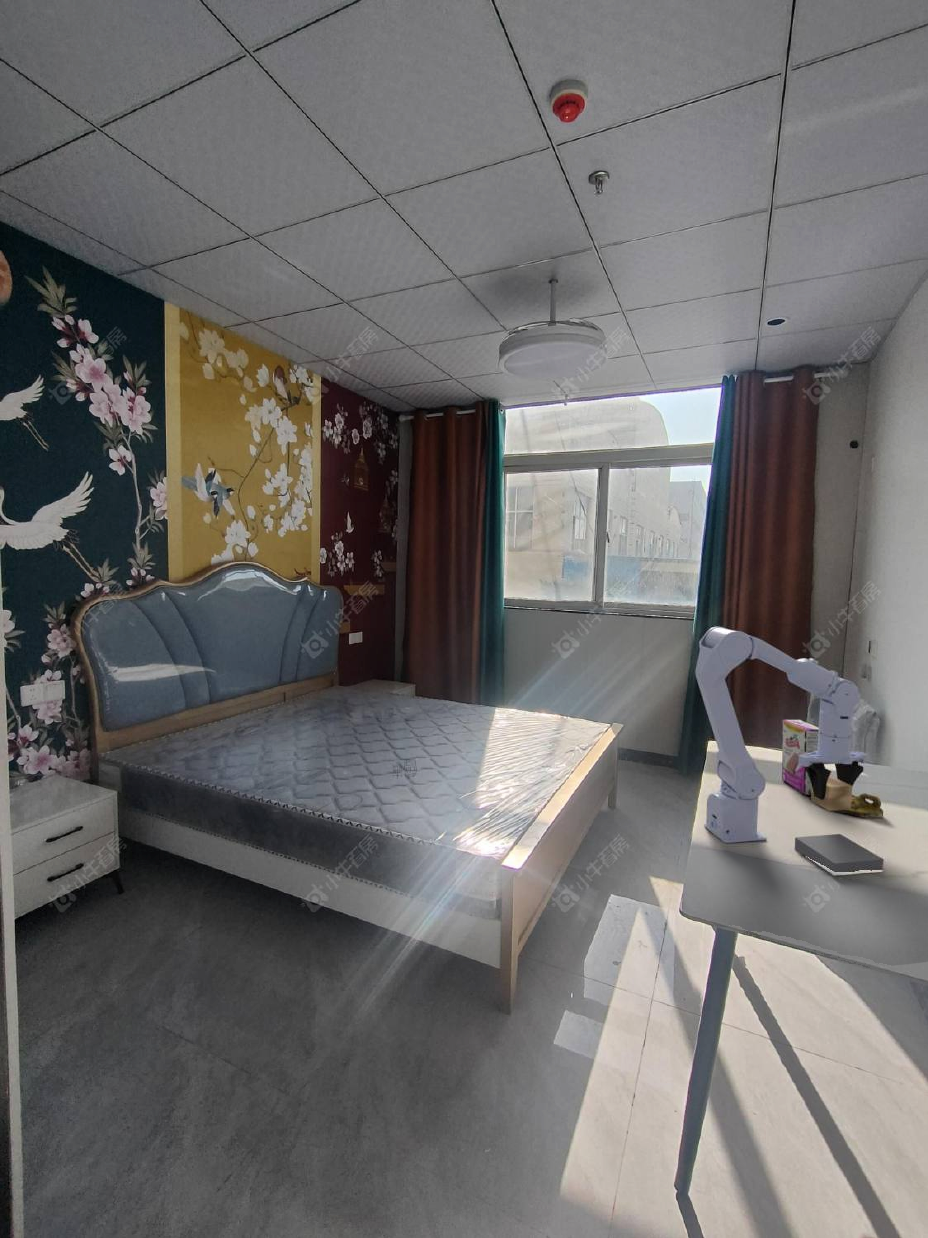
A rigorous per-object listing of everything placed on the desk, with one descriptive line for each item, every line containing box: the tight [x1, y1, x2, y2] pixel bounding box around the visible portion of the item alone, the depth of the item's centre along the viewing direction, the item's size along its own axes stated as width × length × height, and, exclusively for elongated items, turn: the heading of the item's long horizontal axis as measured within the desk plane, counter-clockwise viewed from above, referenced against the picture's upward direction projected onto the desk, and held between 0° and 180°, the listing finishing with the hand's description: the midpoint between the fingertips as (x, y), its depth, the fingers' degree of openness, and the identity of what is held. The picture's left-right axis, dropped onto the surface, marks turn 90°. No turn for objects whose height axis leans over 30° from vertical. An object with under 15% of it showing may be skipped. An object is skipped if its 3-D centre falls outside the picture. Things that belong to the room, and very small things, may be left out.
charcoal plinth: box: [794, 833, 884, 872], centre depth 107 cm, size 10×10×2 cm
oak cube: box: [810, 776, 853, 812], centre depth 117 cm, size 5×5×5 cm
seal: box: [809, 789, 884, 819], centre depth 131 cm, size 9×5×15 cm
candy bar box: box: [781, 719, 819, 796], centre depth 142 cm, size 11×5×16 cm, turn 177°
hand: (830, 797), depth 117 cm, fingers closed on oak cube, 5 cm apart
